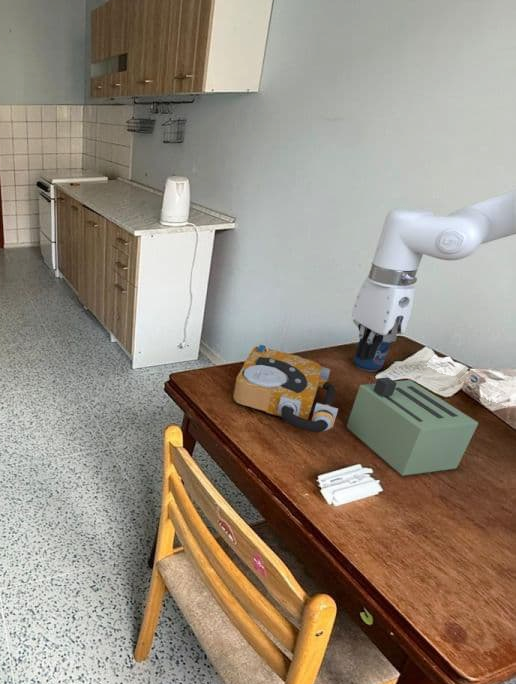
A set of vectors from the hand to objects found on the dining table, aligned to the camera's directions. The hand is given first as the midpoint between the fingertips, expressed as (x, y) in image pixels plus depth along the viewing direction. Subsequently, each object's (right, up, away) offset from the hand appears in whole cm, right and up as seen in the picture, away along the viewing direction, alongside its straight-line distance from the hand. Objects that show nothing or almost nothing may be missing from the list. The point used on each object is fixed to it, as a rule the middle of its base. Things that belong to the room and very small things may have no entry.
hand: (364, 357), depth 100 cm
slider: (+1, -7, -4) cm, 8 cm away
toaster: (+6, -19, -2) cm, 20 cm away
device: (-11, -11, +14) cm, 21 cm away
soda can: (+19, -2, +29) cm, 34 cm away
